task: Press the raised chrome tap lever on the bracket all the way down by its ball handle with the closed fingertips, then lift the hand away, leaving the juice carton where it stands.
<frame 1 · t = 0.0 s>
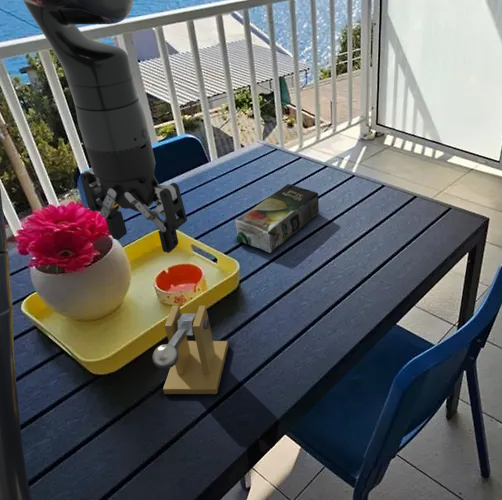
hand: (145, 243, 71), 22 cm above the table, tool pointing down, fingers open, 8 cm apart
juice carton: (279, 228, 114), on the table
tap lever: (177, 339, 70), point 12 cm above the table, hinge at 20.0°
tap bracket: (198, 368, 80), on the table
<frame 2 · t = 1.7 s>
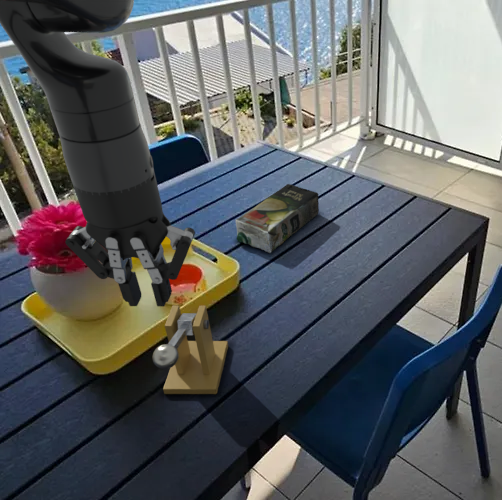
hand: (149, 301, 59), 23 cm above the table, tool pointing down, fingers closed
nothing on the table moved.
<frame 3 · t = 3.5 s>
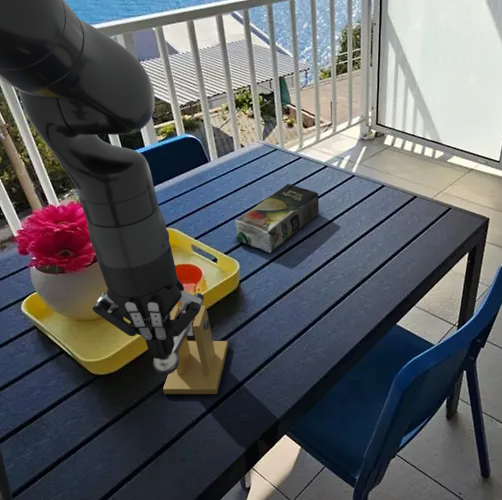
hand: (163, 353, 64), 14 cm above the table, tool pointing down, fingers closed
tap lever: (177, 342, 70), point 11 cm above the table, hinge at 15.3°
everything else where it was.
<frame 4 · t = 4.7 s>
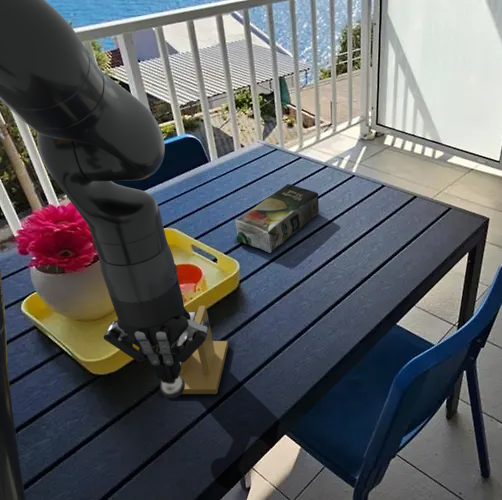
hand: (170, 377, 67), 10 cm above the table, tool pointing down, fingers closed
tap lever: (180, 354, 71), point 9 cm above the table, hinge at -11.7°, touching gripper
everything else where it was.
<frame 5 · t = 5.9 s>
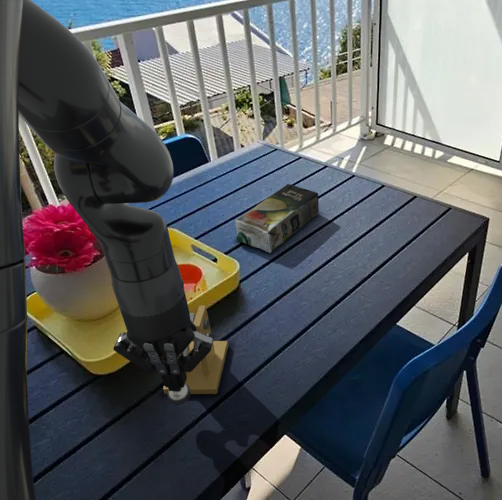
hand: (177, 386, 70), 6 cm above the table, tool pointing down, fingers closed
tap lever: (183, 358, 73), point 7 cm above the table, hinge at -30.9°, touching gripper
everything else where it was.
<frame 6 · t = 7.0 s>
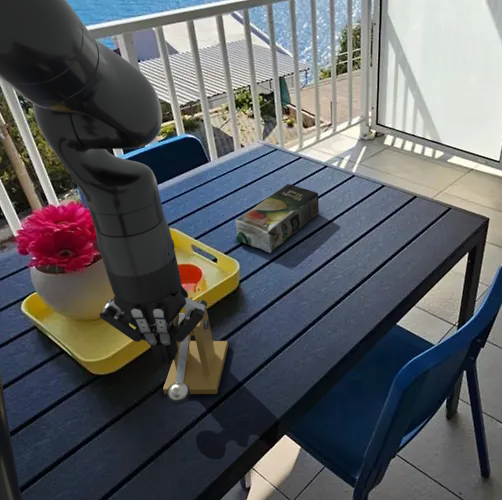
hand: (167, 358, 66), 12 cm above the table, tool pointing down, fingers closed
tap lever: (183, 358, 73), point 7 cm above the table, hinge at -30.6°
everything else where it was.
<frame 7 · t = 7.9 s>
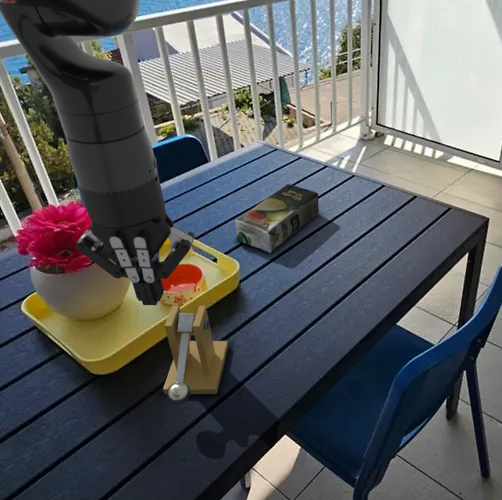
hand: (152, 300, 60), 22 cm above the table, tool pointing down, fingers closed
nothing on the table moved.
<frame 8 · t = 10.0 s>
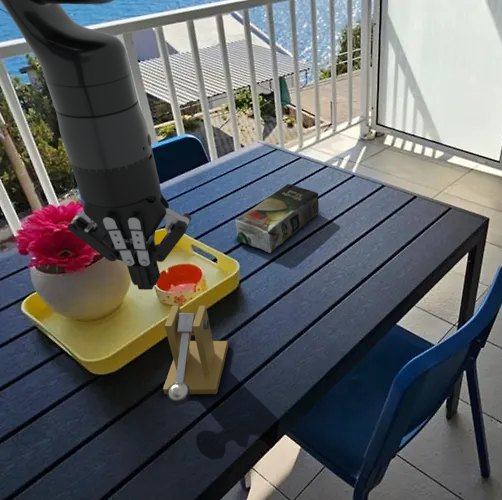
hand: (148, 285, 59), 25 cm above the table, tool pointing down, fingers closed
nothing on the table moved.
at the end: tap lever reached -31° during the clip, -31° at the end; tap lever at -31° (first picture: +20°); juice carton moved 0.2 cm from its start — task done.
